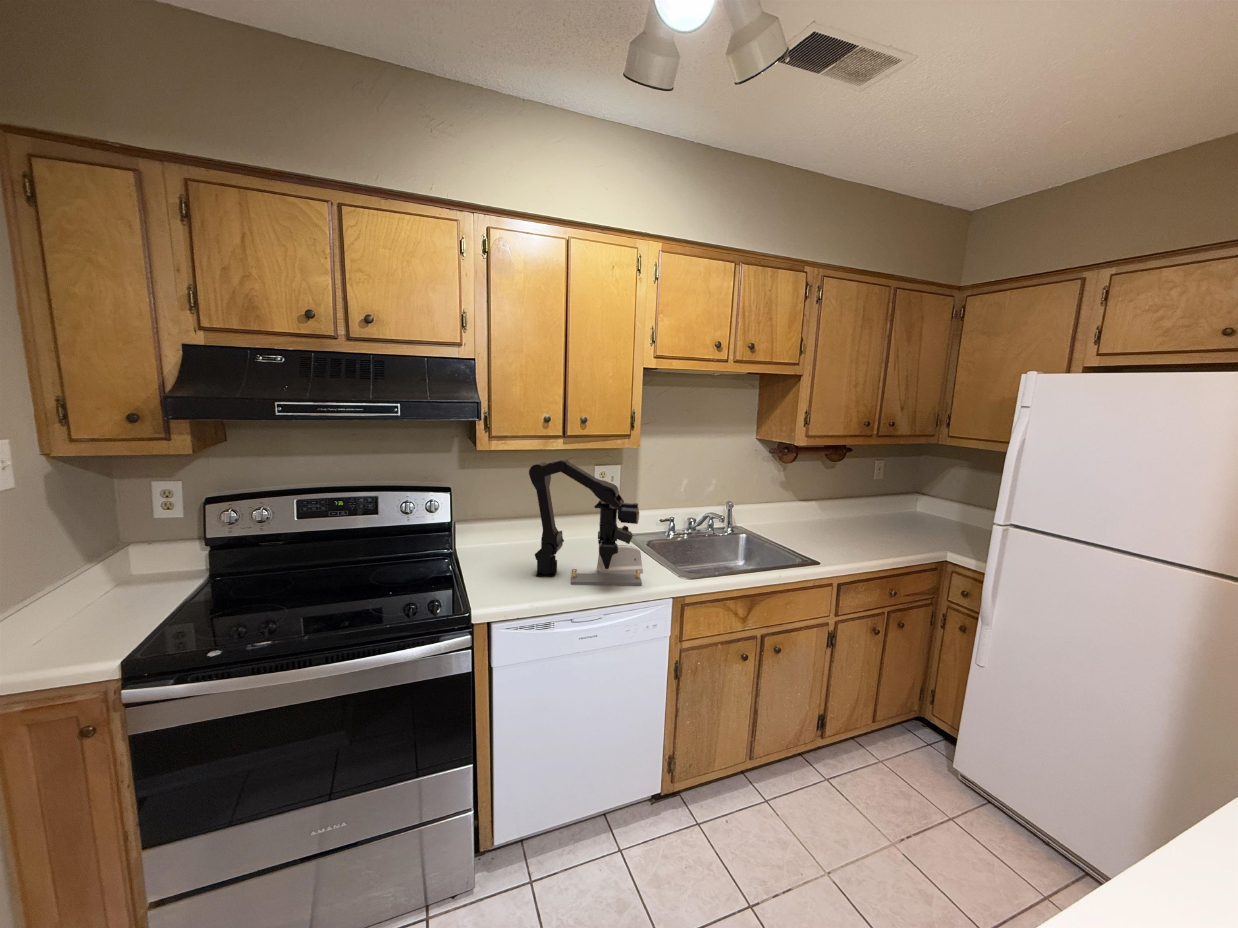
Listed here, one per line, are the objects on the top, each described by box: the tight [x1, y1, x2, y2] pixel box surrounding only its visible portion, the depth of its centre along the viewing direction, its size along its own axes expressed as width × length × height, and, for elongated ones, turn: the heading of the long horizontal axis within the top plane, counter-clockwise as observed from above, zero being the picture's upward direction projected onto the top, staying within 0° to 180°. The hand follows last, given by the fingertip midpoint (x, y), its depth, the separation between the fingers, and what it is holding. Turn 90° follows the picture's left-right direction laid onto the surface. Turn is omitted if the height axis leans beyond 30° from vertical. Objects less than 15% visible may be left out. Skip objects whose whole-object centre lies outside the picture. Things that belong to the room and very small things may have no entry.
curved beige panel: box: [596, 544, 644, 575], centre depth 183 cm, size 17×5×10 cm, turn 103°
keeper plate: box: [570, 568, 643, 587], centre depth 173 cm, size 24×8×4 cm, turn 94°
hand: (606, 565), depth 173 cm, fingers open, 7 cm apart
